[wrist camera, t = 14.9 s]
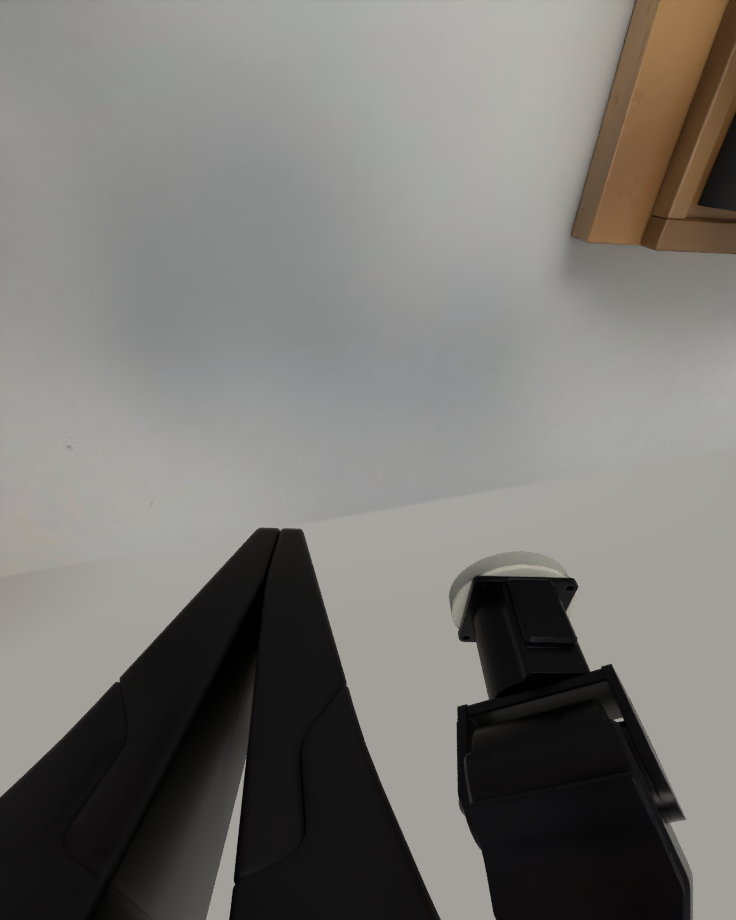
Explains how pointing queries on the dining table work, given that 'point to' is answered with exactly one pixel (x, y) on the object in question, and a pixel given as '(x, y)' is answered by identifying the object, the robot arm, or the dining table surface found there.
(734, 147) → the loose pad
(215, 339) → the dining table surface
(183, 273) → the dining table surface
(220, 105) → the dining table surface
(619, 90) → the sharpening stone on base
